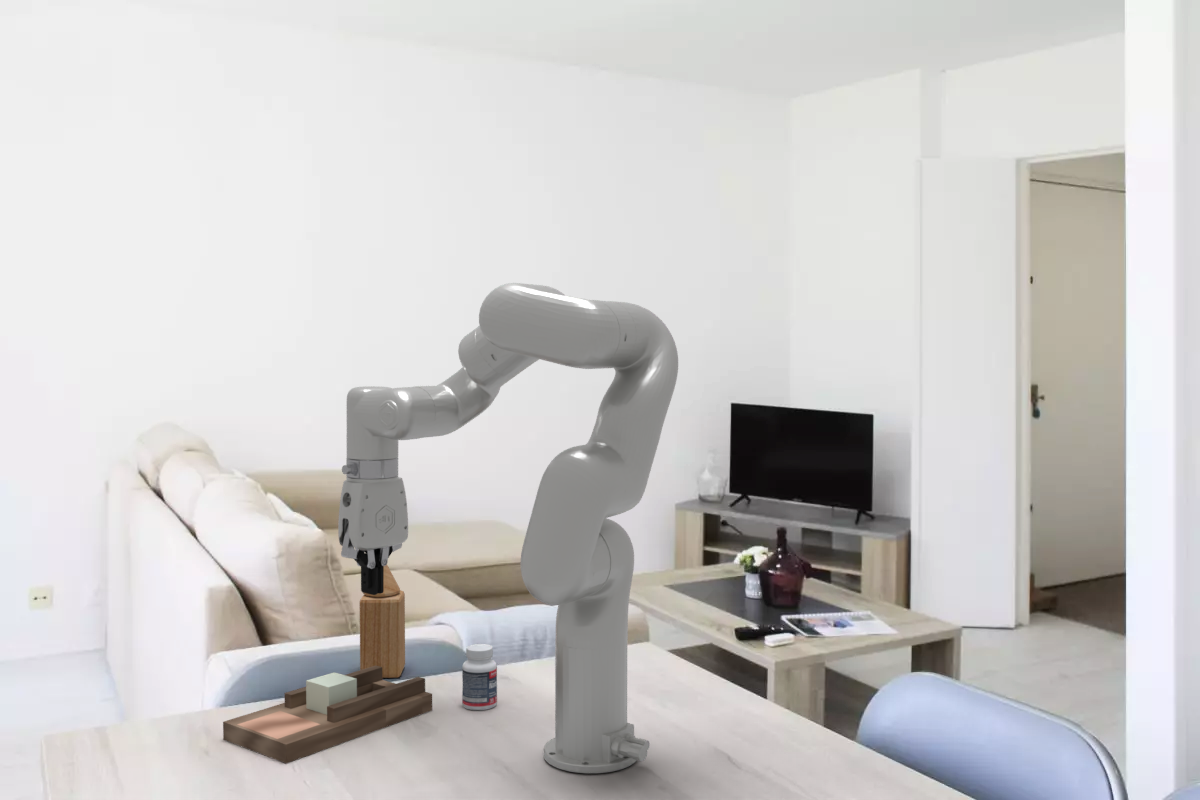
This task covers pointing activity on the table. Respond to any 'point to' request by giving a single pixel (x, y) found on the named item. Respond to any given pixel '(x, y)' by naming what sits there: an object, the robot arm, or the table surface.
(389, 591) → the decorative item
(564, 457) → the robot arm
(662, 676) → the table surface
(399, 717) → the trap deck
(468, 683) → the pill bottle
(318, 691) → the sage block
